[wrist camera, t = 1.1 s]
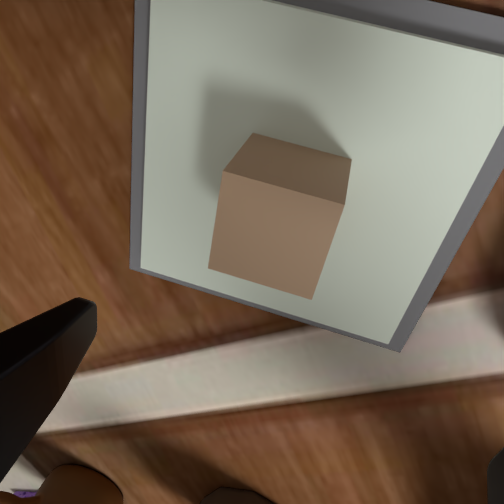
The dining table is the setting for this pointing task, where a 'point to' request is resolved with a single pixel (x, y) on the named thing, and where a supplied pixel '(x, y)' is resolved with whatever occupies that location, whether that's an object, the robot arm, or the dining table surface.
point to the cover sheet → (325, 107)
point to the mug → (70, 489)
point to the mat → (379, 13)
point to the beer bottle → (234, 497)
